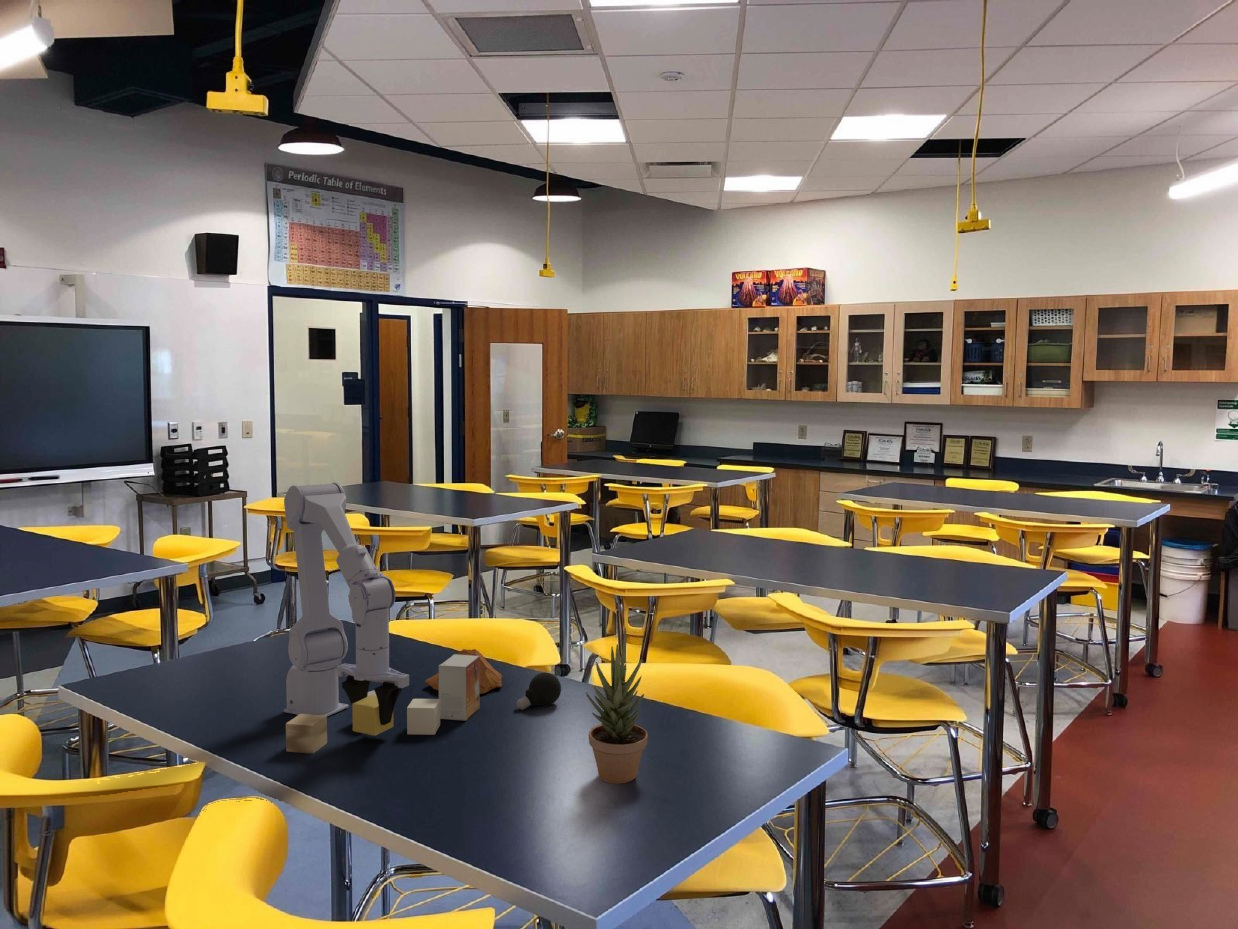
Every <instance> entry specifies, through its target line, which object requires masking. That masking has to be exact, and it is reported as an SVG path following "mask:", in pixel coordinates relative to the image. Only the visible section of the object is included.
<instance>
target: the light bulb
mask: <svg viewBox="0 0 1238 929" xmlns="http://www.w3.org/2000/svg"><path fill="white" fill-rule="evenodd" d="M561 692H562V685H561V682H560V680H559V678H558V677H557V675H555V674H553V673H550V672H540V673H538V674H535V676H533V678H531V680H530V681H529V685H528V689H527V690H525V695H524V696H522V697H521V698H519V699H518V700H516V708H518V709H519V710H520V711H524V710H526V709H527V708H528V707H529V706H533V707H536V706H538V705H539V706H549V705H550V706H551V705H552V704H555V703H556V701H558V699H559V698H560V696H561V694H562V693H561Z"/></svg>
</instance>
